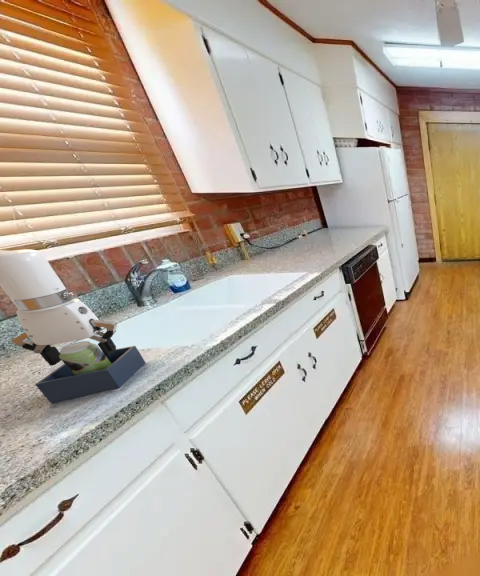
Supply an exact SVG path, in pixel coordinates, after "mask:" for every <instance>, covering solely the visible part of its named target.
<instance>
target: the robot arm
mask: <svg viewBox="0 0 480 576" xmlns="http://www.w3.org/2000/svg"><path fill="white" fill-rule="evenodd" d="M0 287H1V289H2V290H3V292H4V293H5V294H6V295H7V297H8V298H9V299H10V301H11V302H12V303H13V304H14V306H15V307H16V308H17V310H16V316H17V320H18V322H19V324H20V326H21V327H22V329H23V331H24V332H23V333H21V334H19V335H18V336H16V337H15V338H13V339H11V340H10V342H11V343H12V344H14V345H17V346H19V347H21V348H22V349H24V350H27V351H32V352H33V353H35V354H39V355H40V356H41V357H42V358H43V359H44V361H45V362H46V363H48V365H49V366H52V367H53V366H56V365H57V364H58V363H60V362H61V361H62V360H61V359H60V358H59V355H60V350H59V349H58V348H57V347H56V346H54V345H57V344H63V343H69V342H75V341H81V340H86V339H90V340H93V341H96V342H98V343H97V346H98V347H99V348H100V350H101V351H102V352H103V353H104V355H110V354H111V353H113V352H114V351H115V350H116V349H117V346H116V344H115V342H114V341H113V340H112V337H113V335H114V334H115V333H116V332H117V327H118V323H117V322H114V321H108V320H106V321H105V320H100V319H99V318H98V317H97V315H96V314H95V313H94V312H93V311H92V310H91V309H90V308H89V306H87V304H85V303H84V302H83V301H81V299H79V298H78V293H77V292H74V291H72V292H71V291H69V289H67V288H66V286H65V285H64V283H63V281H61V278H60V277H59V276H58V274H57V273H56V272H55V270H54V268H53V267H52V265H51V264H50V262H49V261H48V259H47V258H46V256H45V255H44V254H43V253H42V252H40V251H39V250H36V249H13V250H2V249H0ZM104 328H105V330H106V331H105V330H104ZM28 338H29V339H28ZM52 345H53V346H52Z"/></svg>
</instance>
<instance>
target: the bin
mask: <svg viewBox="0 0 480 576" xmlns="http://www.w3.org/2000/svg"><path fill="white" fill-rule="evenodd" d="M105 356H106V357H107V358H108V360H109V361H110V362H111V365H110V366H109V367H108V368H107V369H106V370H100V371H95V372H90V373H85V374H80V375H74V373H73V372H72V371H71V370H70V369H69V368H68V367H67V366H66V365H65V363H64V362H63V364H61V365H60V366H59V367H57V368H56V369H55V370H53V371H52V372H50V373H48V375H46V376H44V377H43V378H42V379H40V380H39V381H38V382H36V383H35V384H34V385H35V386H36V387H37V389H38V390H39V391H40V392H41V393H42V395H43V396H44V397H45V398H46V399H47V401H48V402H49V403H50V404H51V405H55V404H59V403H63V402H67V401H71V400H75V399H80V398H83V397H87V396H92V395H96V394H100V393H104V392H109V391H112V390H116V389H120V388H122V387H123V386H124V385H125V384H126V383H127V382H128V381H129V380H130V379H131V378H132V377H133V376H135V374H137V372H139V370H141V369H142V368H144V366H145V365H146V364H147V362H146V360H145V359H144V358H143V356H142V354H141V353H140V351H139V350H138V348H137V346H136V345H132V346H126V347H121V348H116V350H115V351H114V352H113V353H111V354H110V355H105Z"/></svg>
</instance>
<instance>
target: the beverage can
mask: <svg viewBox="0 0 480 576" xmlns="http://www.w3.org/2000/svg"><path fill="white" fill-rule="evenodd" d="M59 352H60V355H59V358H60V359H61V361H62V363H63V364H64V363H65V365H66V366H67V367H68V368H69V369H70V370H71V371H72V372H73V373H74V375H80V374H85V373H90V372H95V371H100V370H106V369H107V368H108V367H109V366H110V365H111V362H110V361H109V360H108V358H107V357H106V356H105V355H104V353H103V352H102V350H101V349H100V347H99V346H98V344H96V343H94V342H91V341H89V340H88V341H87V340H83V341H78V342H74V343H71V344H68V345H66V346H64V347H62V348H61V349H60V350H59Z"/></svg>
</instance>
